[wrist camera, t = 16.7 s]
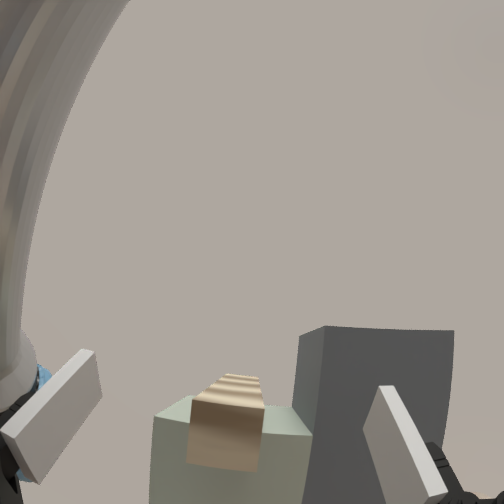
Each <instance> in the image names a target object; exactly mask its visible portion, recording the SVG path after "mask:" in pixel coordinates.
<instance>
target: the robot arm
mask: <svg viewBox="0 0 504 504" xmlns="http://www.w3.org/2000/svg"><path fill="white" fill-rule="evenodd" d="M129 1H130V0H0V504H23V500H22V494H21V489H20V485H19V480H20V481H25V482H35V483H37V484H38V485H40V484H41V482H42V480H43V479H44V478H45V476H46V475H47V473H48V472H49V470H50V469H51V468H52V466H53V464H54V463H55V462H56V460H57V459H58V457H59V456H60V454H61V453H62V452H63V450H64V449H65V448H66V446H67V445H68V443H69V442H70V441H71V439H72V438H73V436H74V435H75V433H76V432H77V431H78V429H79V428H80V427H81V425H82V424H83V423H84V421H85V420H86V418H87V417H88V415H89V414H90V413H91V411H92V410H93V409H94V407H95V406H96V405H97V403H98V402H99V401H100V399H101V398H102V392H101V387H100V381H99V375H98V369H97V362H96V356H95V352H93V351H90V350H86V349H81V350H80V351H79V352H77V353H76V354H75V356H73V357H72V358H71V359H70V360H69V361H68V362H67V363H66V364H65V365H64V366H63V367H62V368H61V369H60V370H59V371H58V372H57V373H56V374H55V375H54V376H52V375H51V373H50V372H49V371H48V370H47V369H45V368H43V367H42V366H41V365H39V364H37V361H36V354H35V351H34V348H33V345H32V344H31V342H30V340H29V338H28V337H27V336H26V334H25V333H24V332H23V331H22V330H21V328H20V327H21V314H22V303H23V293H24V285H25V277H26V270H27V264H28V257H29V251H30V246H31V241H32V236H33V231H34V226H35V222H36V217H37V213H38V209H39V205H40V201H41V197H42V193H43V190H44V186H45V183H46V179H47V176H48V172H49V169H50V166H51V163H52V160H53V156H54V154H55V151H56V148H57V145H58V142H59V139H60V136H61V133H62V131H63V128H64V126H65V123H66V121H67V118H68V115H69V113H70V110H71V108H72V106H73V104H74V101H75V99H76V97H77V95H78V92H79V90H80V88H81V86H82V84H83V81H84V79H85V77H86V75H87V73H88V71H89V69H90V67H91V65H92V63H93V61H94V59H95V57H96V55H97V54H98V52H99V50H100V48H101V46H102V44H103V42H104V41H105V39H106V37H107V35H108V34H109V32H110V30H111V29H112V27H113V25H114V24H115V22H116V20H117V19H118V17H119V15H120V14H121V12H122V11H123V9H124V8H125V6H126V5H127V3H128V2H129ZM363 432H364V435H365V438H366V441H367V444H368V447H369V450H370V453H371V456H372V459H373V462H374V465H375V469H376V472H377V475H378V478H379V481H380V485H381V488H382V491H383V495H384V498H385V501H386V504H504V491H503V492H501V493H500V494H499V495H498V496H497V497H496V498H495V499H479V498H478V497H477V496H476V495H475V494H473V493H471V492H464V491H463V489H462V487H461V485H460V483H459V481H458V479H457V477H456V475H455V473H454V472H453V470H452V468H451V466H449V462H448V460H447V459H446V457H445V455H444V453H443V451H442V449H441V448H440V447H438V446H437V445H436V444H435V443H434V442H428V443H424V442H423V440H422V438H421V436H420V434H419V432H418V430H417V428H416V426H415V424H414V422H413V421H412V419H411V417H410V415H409V413H408V411H407V409H406V408H405V406H404V404H403V402H402V400H401V398H400V397H399V395H398V393H397V391H396V389H395V387H394V386H378V389H377V392H376V395H375V398H374V401H373V403H372V406H371V409H370V411H369V414H368V416H367V419H366V422H365V424H364V427H363Z"/></svg>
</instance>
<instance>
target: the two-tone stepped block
mask: <svg viewBox="0 0 504 504" xmlns="http://www.w3.org/2000/svg"><path fill="white" fill-rule="evenodd" d="M453 351H454V331H453V330H449V331H447V330H446V331H443V330H442V331H441V330H395V329H372V328H352V327H337V326H336V327H335V326H323V327H321V328H318V329H316V330H313V331H311V332H308V333H306V334H303V335H301V336H299V346H298V356H297V366H296V375H295V385H294V393H293V401H292V407H283V406H270V405H264V407H265V412H264V420H263V428H262V436H261V444H260V451H259V459H258V466H257V472H246V471H237V470H229V469H221V468H214V467H207V466H201V465H195V464H190V463H186V455H187V444H188V434H189V424H190V414H191V405H192V399H193V398H195V397H196V396H191V395H188V396H187V397H185V398H184V399H182V400H180V401H178V402H177V403H175V404H174V405H172V406H170V407H169V408H167V409H165V410H163V411H162V412H160V413H158V414H157V415H155V416H154V422H153V434H152V448H151V464H150V485H149V504H386V501H385V498H384V495H383V491H382V488H381V485H380V481H379V478H378V475H377V472H376V469H375V465H374V462H373V459H372V456H371V453H370V450H369V447H368V444H367V441H366V438H365V435H364V432H363V427H364V424H365V422H366V419H367V416H368V414H369V411H370V409H371V406H372V403H373V401H374V398H375V395H376V392H377V389H378V386H394V387H395V389H396V391H397V393H398V395H399V397H400V398H401V400H402V402H403V404H404V406H405V408H406V409H407V411H408V413H409V415H410V417H411V419H412V421H413V422H414V424H415V426H416V428H417V430H418V432H419V434H420V436H421V438H422V440H423V442H424V443H428V442H434V443H435V444H436V445H437V446H438V447H440V448H441V449H442V444H443V439H444V434H445V428H446V421H447V414H448V407H449V399H450V391H451V380H452V368H453Z"/></svg>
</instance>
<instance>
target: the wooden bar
mask: <svg viewBox="0 0 504 504" xmlns="http://www.w3.org/2000/svg"><path fill="white" fill-rule="evenodd" d="M264 412H265V407H264V403H263V398H262V393H261V389H260V384H259V380H258V377H253V376H244V375H235V374H225V375H224V376H223V377H222V378H220V379H219V380H218V381H216V382H215V383H214V384H212V385H211V386H210V387H208V388H207V389H206V390H204V391H203V392H202V393H200V394H199V395H198V396H196V397H195V398H193V399H192V405H191V414H190V424H189V434H188V444H187V455H186V463H190V464H195V465H201V466H207V467H214V468H221V469H229V470H237V471H246V472H257V466H258V459H259V451H260V444H261V436H262V428H263V420H264Z"/></svg>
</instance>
